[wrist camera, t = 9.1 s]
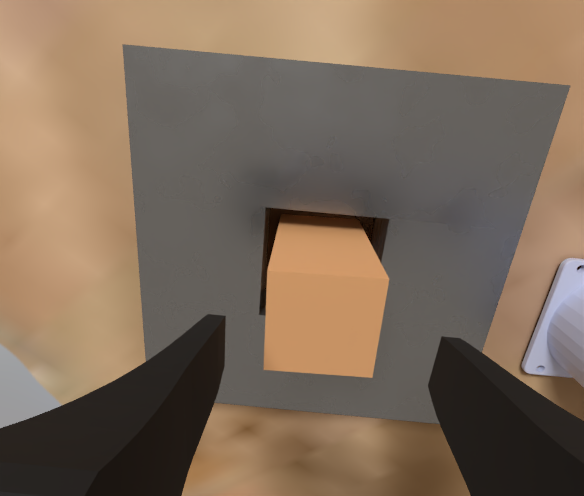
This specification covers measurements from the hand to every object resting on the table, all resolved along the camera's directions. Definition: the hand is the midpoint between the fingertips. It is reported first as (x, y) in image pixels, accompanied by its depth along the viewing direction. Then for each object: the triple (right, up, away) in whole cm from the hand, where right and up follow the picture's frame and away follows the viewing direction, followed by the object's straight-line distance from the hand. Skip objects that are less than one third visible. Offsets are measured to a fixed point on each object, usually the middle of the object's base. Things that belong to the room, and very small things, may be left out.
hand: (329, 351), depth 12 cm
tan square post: (0, +3, +9) cm, 10 cm away
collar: (0, +3, +9) cm, 10 cm away
